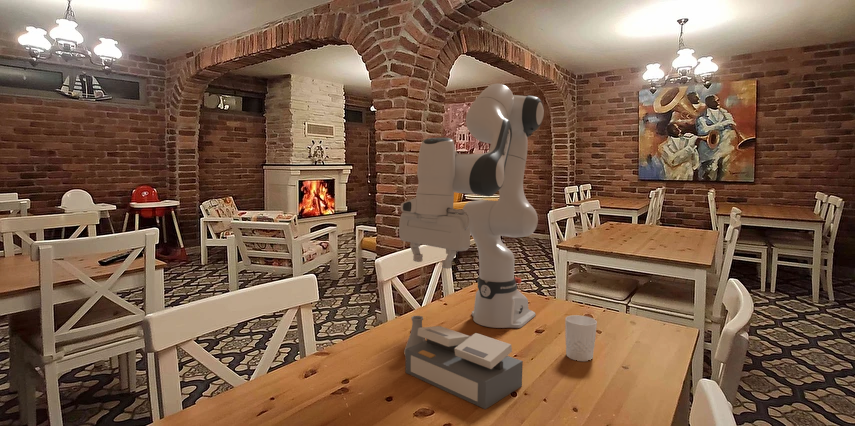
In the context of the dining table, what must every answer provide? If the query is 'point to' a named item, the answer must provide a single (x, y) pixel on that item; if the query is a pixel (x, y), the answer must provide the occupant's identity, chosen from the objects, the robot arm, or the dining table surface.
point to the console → (463, 373)
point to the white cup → (580, 337)
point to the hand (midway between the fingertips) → (431, 264)
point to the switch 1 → (442, 335)
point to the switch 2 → (483, 350)
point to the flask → (415, 333)
